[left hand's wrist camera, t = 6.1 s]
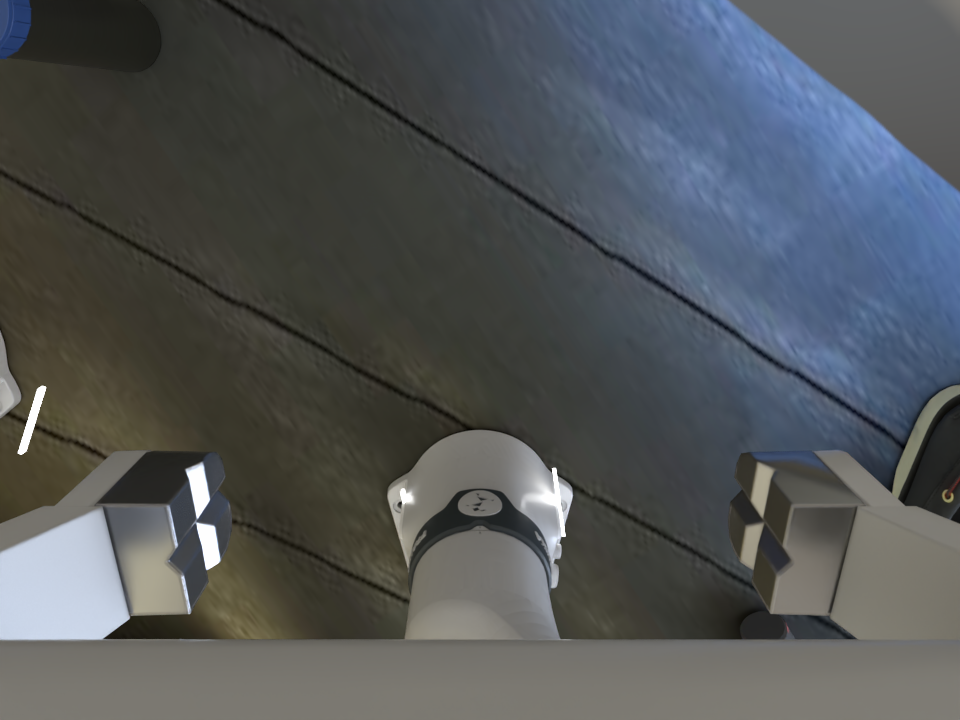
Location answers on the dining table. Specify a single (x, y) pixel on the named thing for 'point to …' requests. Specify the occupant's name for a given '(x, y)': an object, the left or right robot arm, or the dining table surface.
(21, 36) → the lid
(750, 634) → the power drill
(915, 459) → the boat shoe
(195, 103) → the dining table surface
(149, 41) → the dark grey bottle
